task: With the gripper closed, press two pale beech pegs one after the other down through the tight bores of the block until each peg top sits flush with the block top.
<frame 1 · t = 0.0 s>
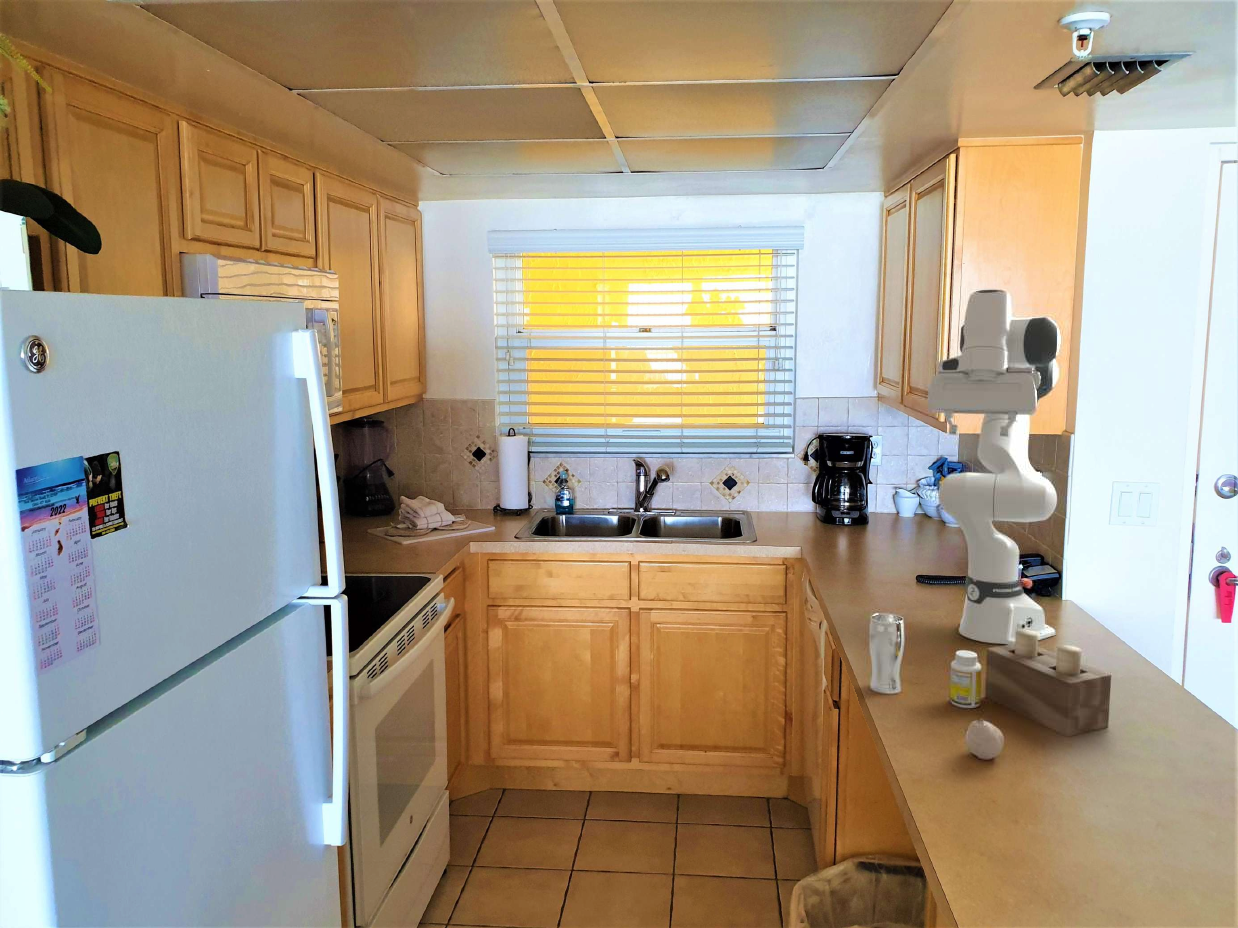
hand: (978, 435, 180), 52 cm above the worktop, tool tilted 20°, fingers open, 8 cm apart
peg a: (1025, 655, 179), point 10 cm above the worktop, slide at 0.0 cm
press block: (1043, 711, 176), on the worktop
peg b: (1067, 672, 170), point 10 cm above the worktop, slide at 0.0 cm
supplement bottle: (964, 704, 180), on the worktop
garlic bulb: (984, 757, 158), on the worktop
beer glass: (885, 689, 188), on the worktop
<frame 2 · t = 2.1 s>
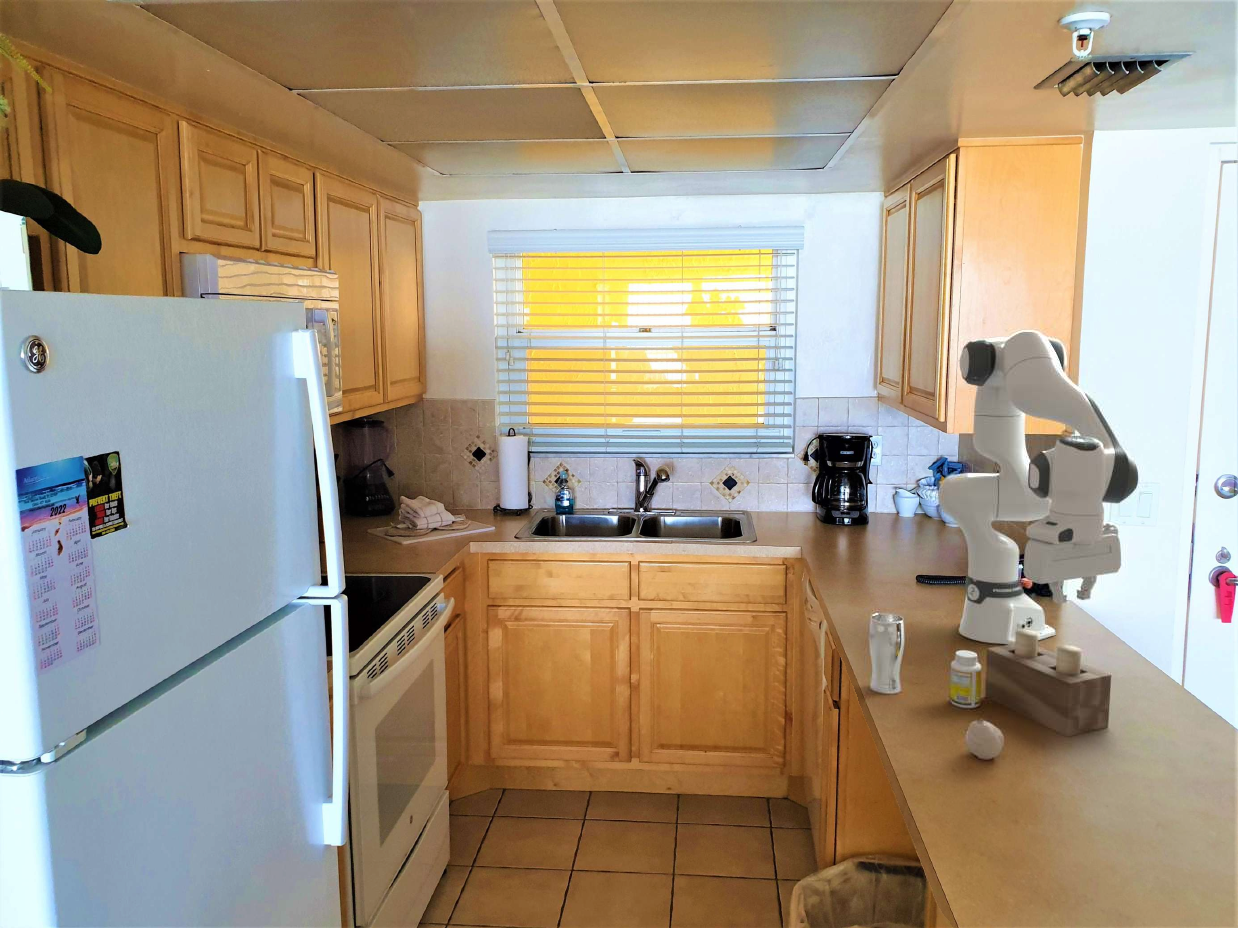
hand: (1071, 600, 168), 23 cm above the worktop, tool pointing down, fingers open, 4 cm apart
nothing on the worktop moved.
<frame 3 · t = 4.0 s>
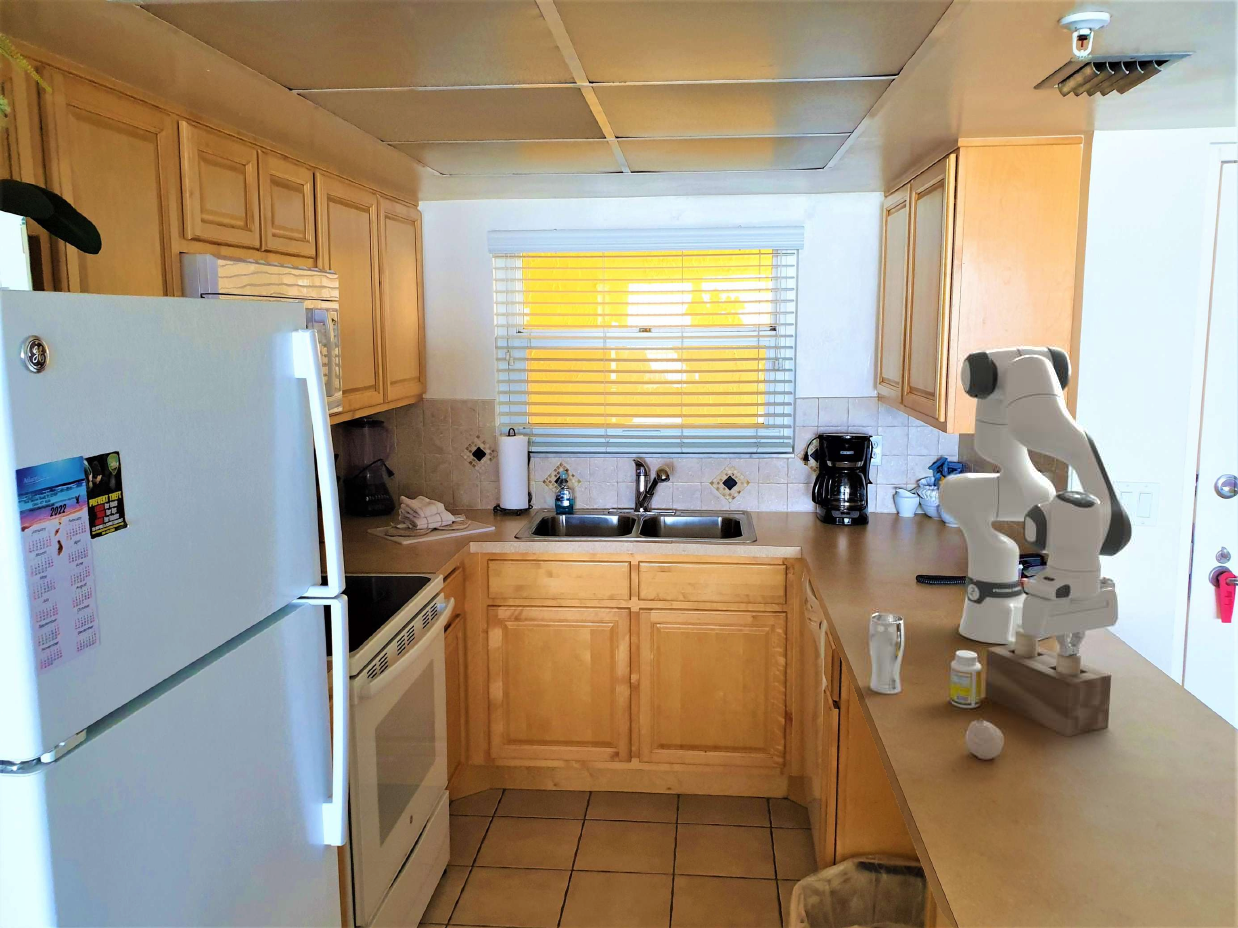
hand: (1069, 654, 169), 13 cm above the worktop, tool pointing down, fingers closed, pressing on peg b
peg b: (1067, 677, 170), point 8 cm above the worktop, slide at 1.1 cm, touching gripper
everything else where it was.
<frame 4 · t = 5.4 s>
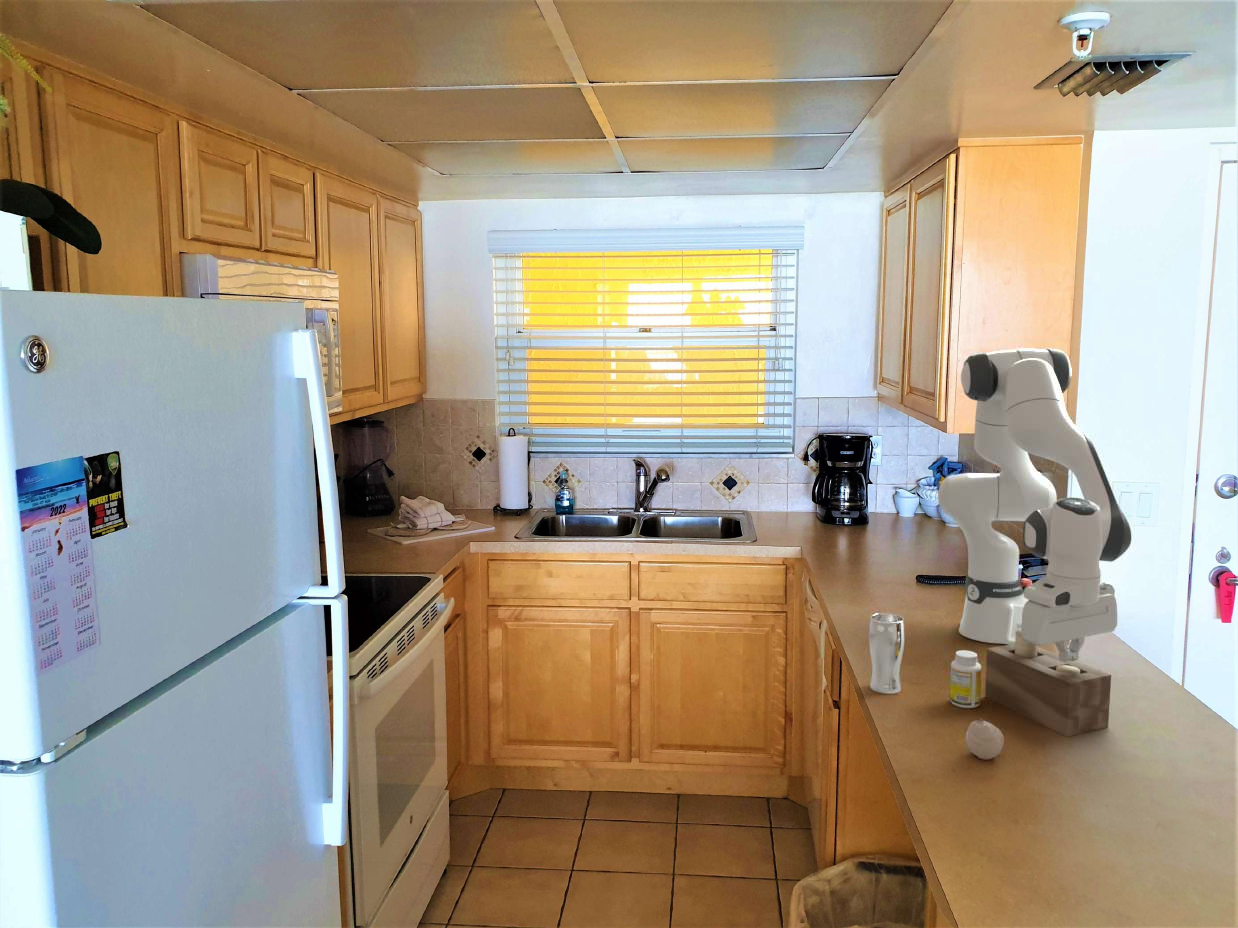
hand: (1068, 660, 170), 12 cm above the worktop, tool pointing down, fingers closed
peg b: (1066, 692, 170), point 6 cm above the worktop, slide at 3.9 cm
everything else where it was.
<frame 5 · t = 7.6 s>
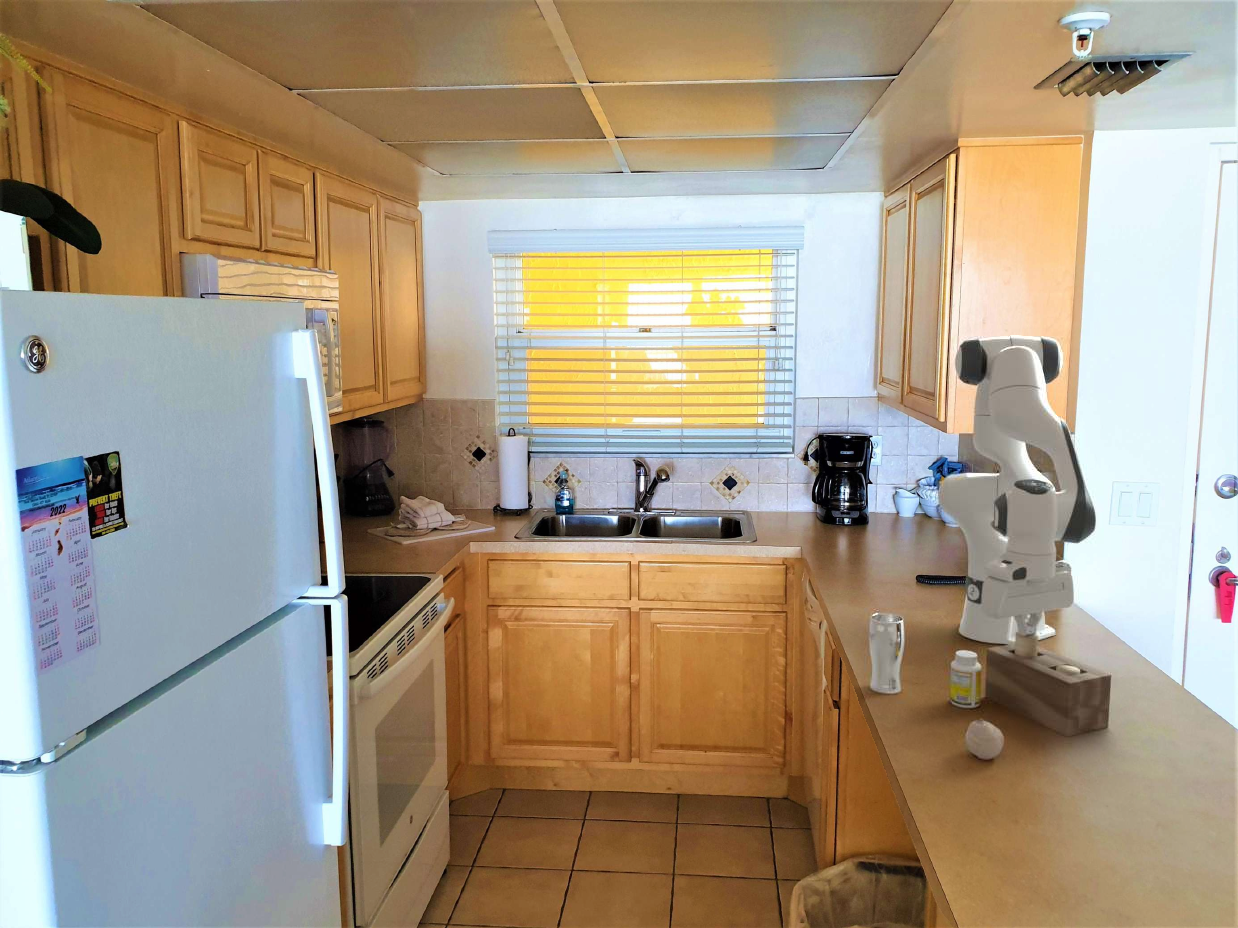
hand: (1026, 634, 178), 14 cm above the worktop, tool pointing down, fingers closed, pressing on peg a
peg a: (1025, 656, 179), point 9 cm above the worktop, slide at 0.3 cm, touching gripper
everything else where it was.
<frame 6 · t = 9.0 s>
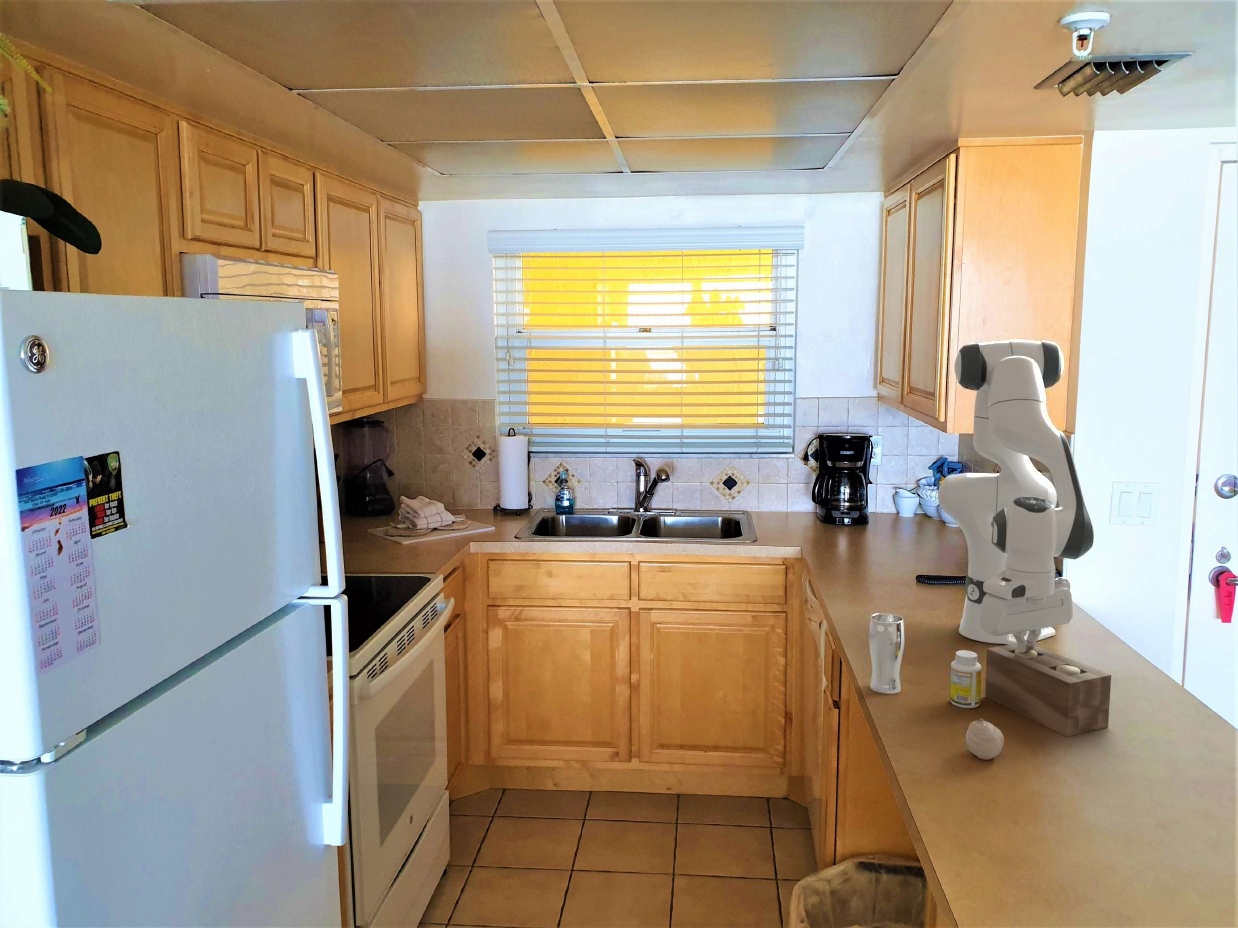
hand: (1026, 650, 179), 10 cm above the worktop, tool pointing down, fingers closed
peg a: (1024, 674, 179), point 6 cm above the worktop, slide at 3.9 cm
everything else where it was.
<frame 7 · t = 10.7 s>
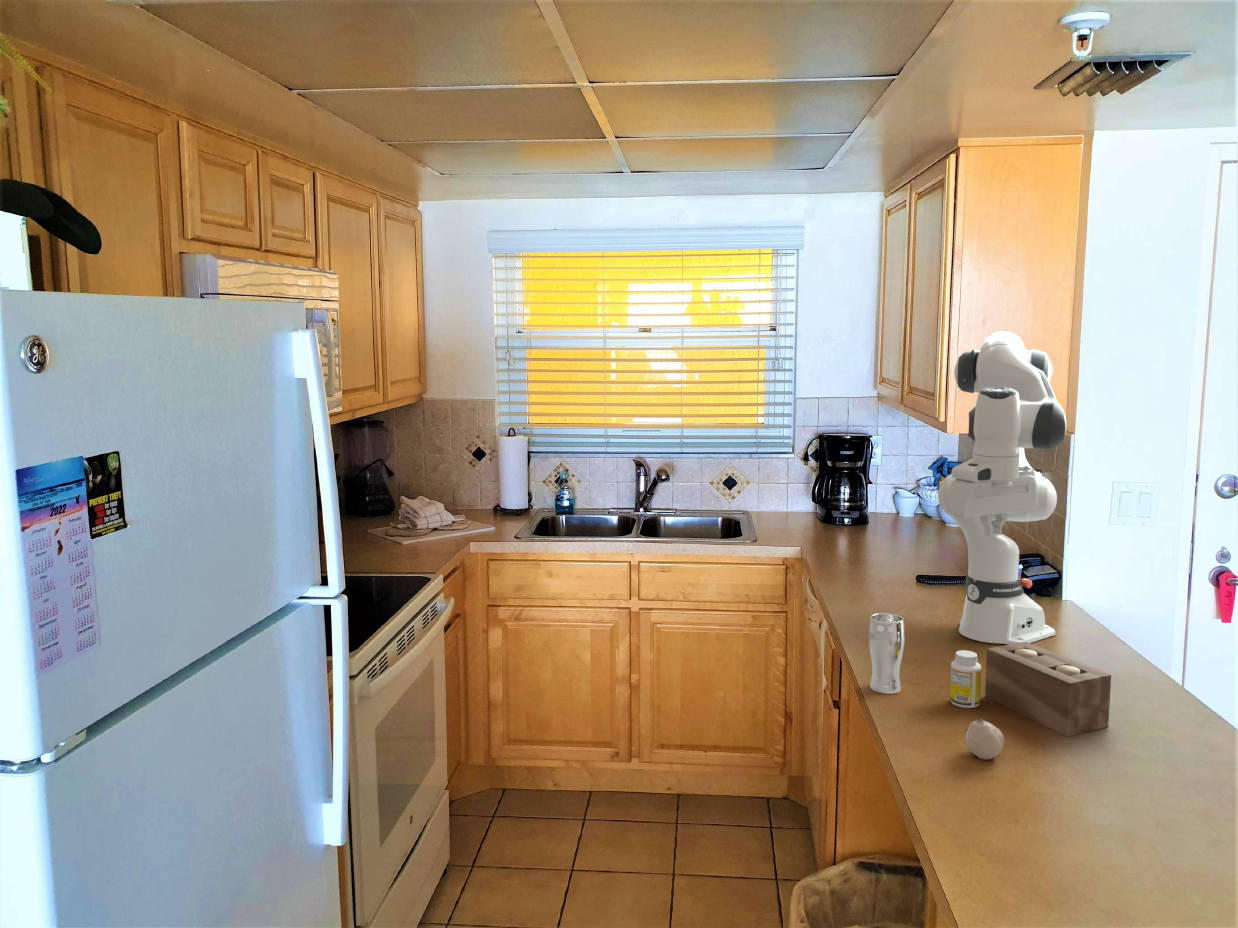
hand: (992, 535, 188), 31 cm above the worktop, tool pointing down, fingers closed
nothing on the worktop moved.
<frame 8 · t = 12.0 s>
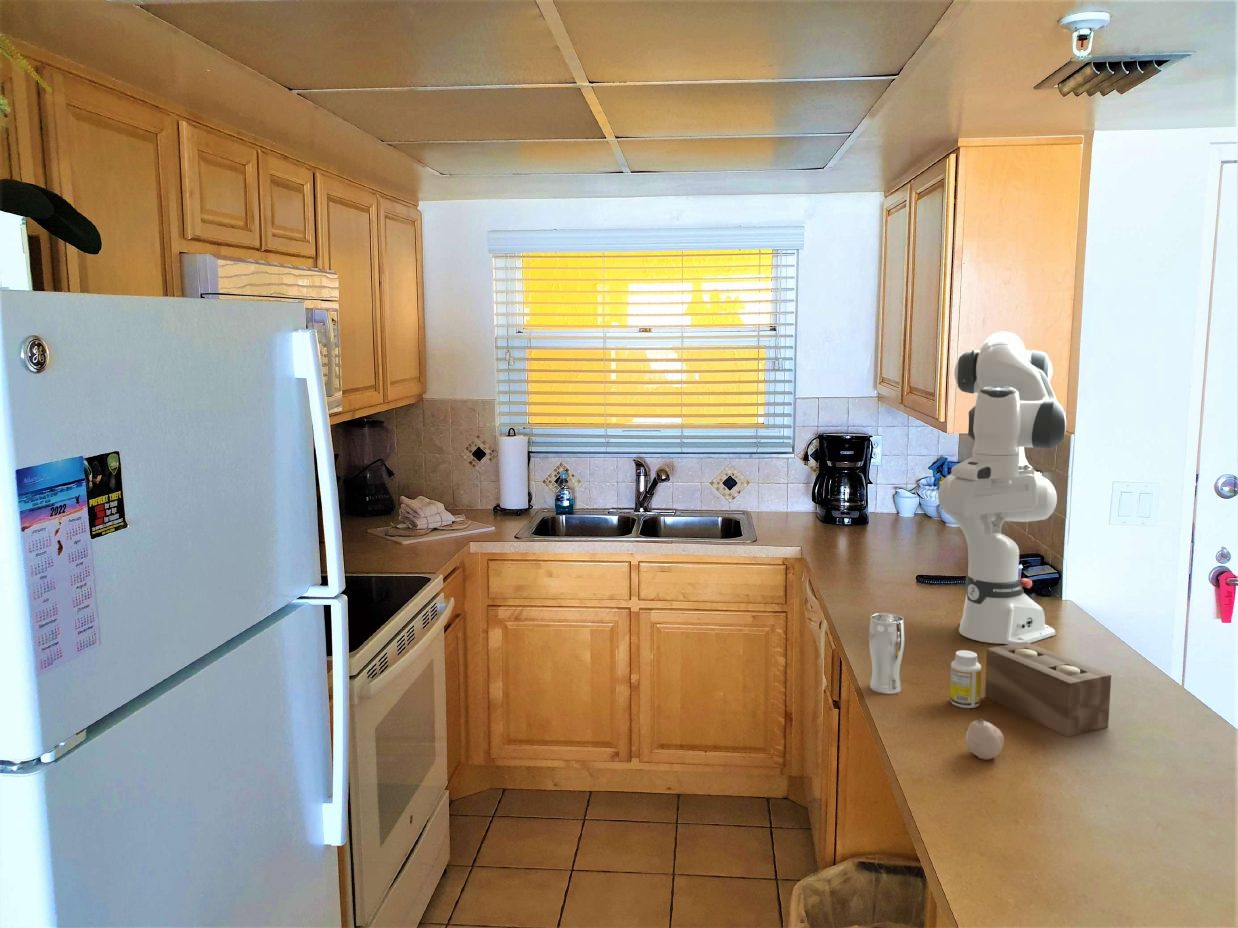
hand: (992, 534, 188), 31 cm above the worktop, tool pointing down, fingers closed
nothing on the worktop moved.
at the end: peg b slide at 3.9 cm; peg a slide at 3.9 cm; supplement bottle moved 0.2 cm from its start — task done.
